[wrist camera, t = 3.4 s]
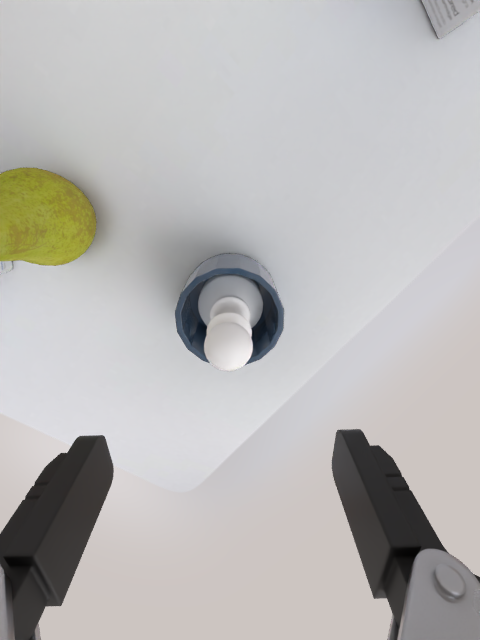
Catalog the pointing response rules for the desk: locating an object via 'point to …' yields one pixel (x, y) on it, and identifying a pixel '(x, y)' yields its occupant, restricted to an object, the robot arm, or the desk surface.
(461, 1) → the ink box
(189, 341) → the cup
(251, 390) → the desk surface
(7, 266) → the light bulb box
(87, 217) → the fruit
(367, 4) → the desk surface
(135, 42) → the desk surface
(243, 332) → the chess pawn
